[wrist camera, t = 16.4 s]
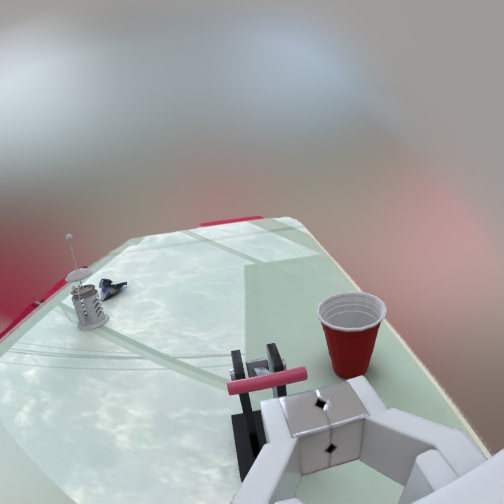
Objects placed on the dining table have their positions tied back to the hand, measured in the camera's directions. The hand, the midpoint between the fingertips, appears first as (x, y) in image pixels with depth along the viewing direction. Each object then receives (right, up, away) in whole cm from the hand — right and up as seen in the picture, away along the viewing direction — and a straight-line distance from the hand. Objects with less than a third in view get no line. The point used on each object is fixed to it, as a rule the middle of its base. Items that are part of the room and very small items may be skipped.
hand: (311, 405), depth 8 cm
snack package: (-48, -10, +93) cm, 105 cm away
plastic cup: (+15, -15, +42) cm, 47 cm away
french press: (-45, -15, +72) cm, 86 cm away
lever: (-1, -8, +20) cm, 22 cm away
